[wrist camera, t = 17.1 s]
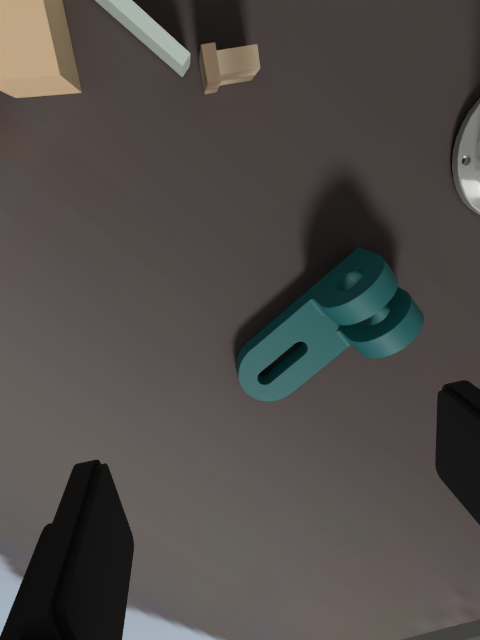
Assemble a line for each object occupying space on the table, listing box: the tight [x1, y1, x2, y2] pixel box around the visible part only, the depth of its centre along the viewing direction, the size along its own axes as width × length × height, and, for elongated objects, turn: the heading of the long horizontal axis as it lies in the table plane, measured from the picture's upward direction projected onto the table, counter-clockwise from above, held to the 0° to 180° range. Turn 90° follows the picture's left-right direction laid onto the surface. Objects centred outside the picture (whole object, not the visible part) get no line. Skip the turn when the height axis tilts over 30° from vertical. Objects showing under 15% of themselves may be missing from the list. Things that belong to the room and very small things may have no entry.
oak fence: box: [199, 42, 260, 94], centre depth 29 cm, size 25×2×4 cm, turn 99°
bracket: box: [236, 247, 424, 401], centre depth 38 cm, size 18×7×8 cm, turn 130°
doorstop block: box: [0, 0, 82, 98], centre depth 27 cm, size 5×8×6 cm, turn 5°
